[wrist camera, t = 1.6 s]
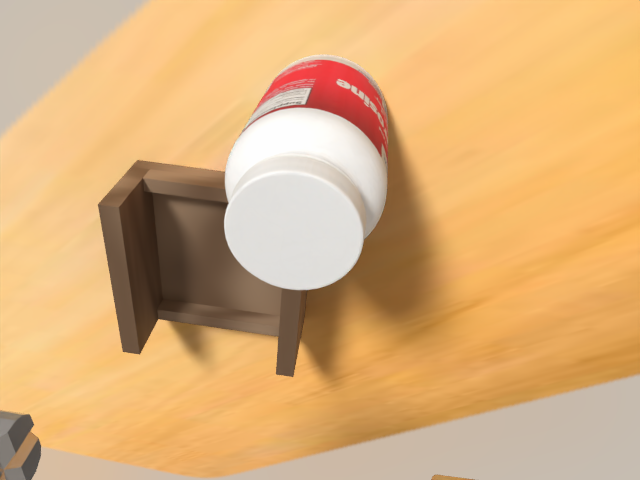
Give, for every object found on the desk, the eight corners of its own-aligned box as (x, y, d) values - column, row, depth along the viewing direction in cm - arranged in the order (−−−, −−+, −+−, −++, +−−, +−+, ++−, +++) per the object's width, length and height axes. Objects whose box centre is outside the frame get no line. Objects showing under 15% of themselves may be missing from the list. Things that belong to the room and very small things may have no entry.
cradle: (318, 184, 29) (306, 233, 25) (303, 319, 34) (293, 376, 30) (137, 160, 29) (98, 204, 25) (153, 298, 35) (122, 351, 31)
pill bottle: (404, 148, 27) (412, 284, 18) (295, 184, 29) (253, 324, 20) (361, 29, 24) (345, 120, 15) (243, 77, 26) (165, 185, 17)
